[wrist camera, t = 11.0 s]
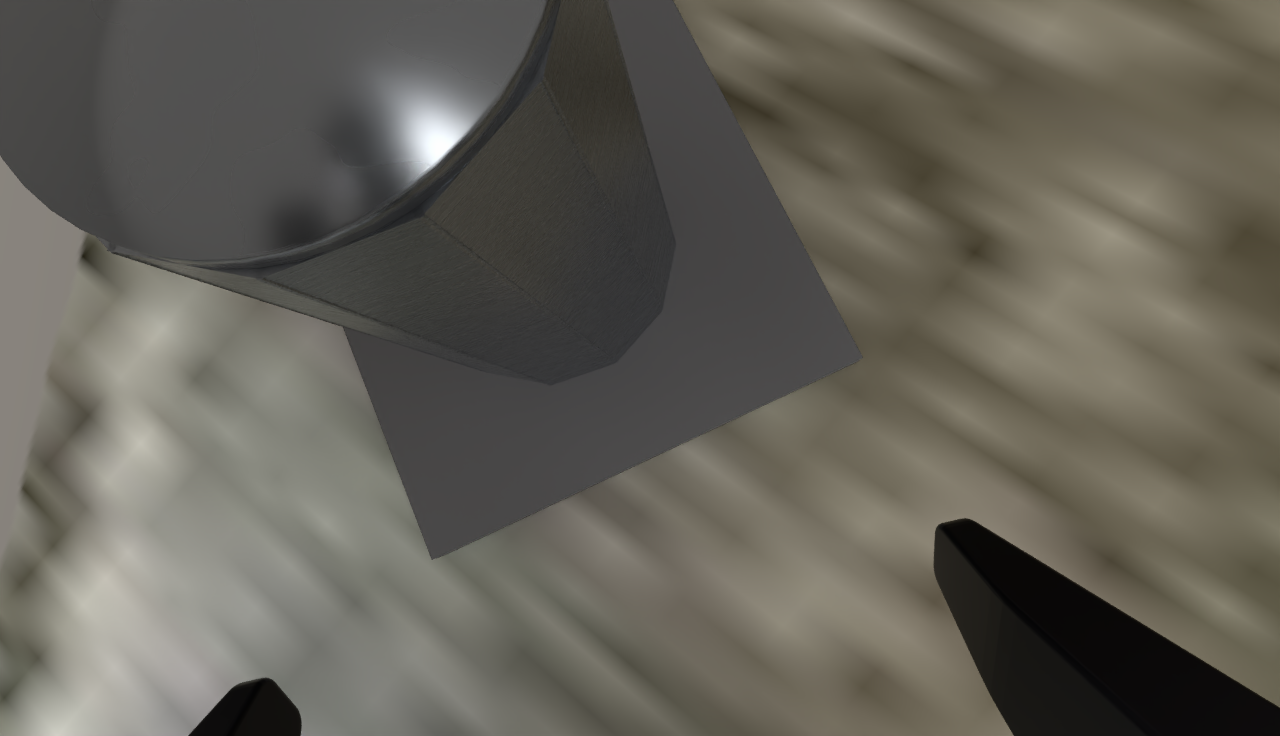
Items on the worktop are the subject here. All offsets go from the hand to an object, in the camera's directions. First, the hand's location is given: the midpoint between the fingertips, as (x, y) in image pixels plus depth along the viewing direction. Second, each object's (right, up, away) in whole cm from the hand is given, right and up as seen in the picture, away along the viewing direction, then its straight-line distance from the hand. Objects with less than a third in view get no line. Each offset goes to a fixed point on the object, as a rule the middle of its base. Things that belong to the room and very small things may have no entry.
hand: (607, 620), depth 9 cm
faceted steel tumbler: (-2, +7, +10) cm, 12 cm away
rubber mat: (-2, +6, +11) cm, 13 cm away
